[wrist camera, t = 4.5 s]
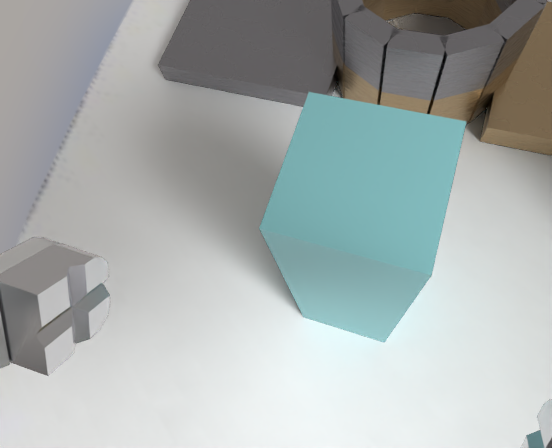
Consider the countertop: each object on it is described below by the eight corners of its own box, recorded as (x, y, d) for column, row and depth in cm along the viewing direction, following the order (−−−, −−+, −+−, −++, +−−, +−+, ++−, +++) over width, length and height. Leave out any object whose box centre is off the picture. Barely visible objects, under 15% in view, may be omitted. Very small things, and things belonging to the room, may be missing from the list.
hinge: (715, 38, 27) (830, -73, 21) (711, 193, 24) (845, 118, 18) (217, -26, 36) (189, -121, 29) (163, 84, 32) (118, 4, 26)
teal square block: (403, 263, 25) (466, 121, 12) (384, 342, 24) (431, 275, 11) (326, 242, 26) (309, 91, 13) (303, 317, 25) (259, 228, 12)
